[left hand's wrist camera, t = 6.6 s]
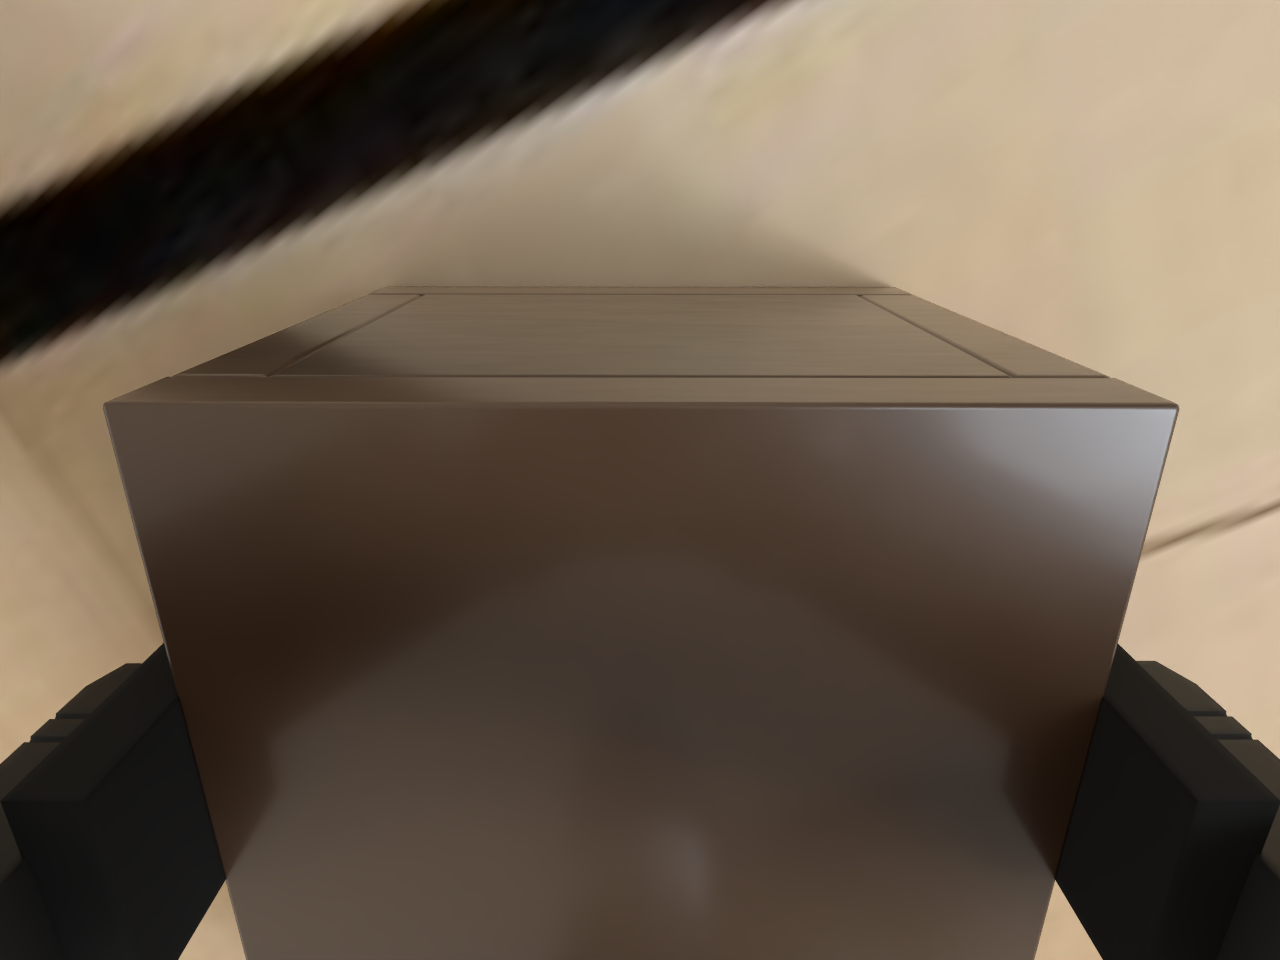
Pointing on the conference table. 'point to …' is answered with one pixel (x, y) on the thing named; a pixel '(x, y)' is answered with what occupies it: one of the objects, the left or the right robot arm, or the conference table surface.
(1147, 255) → the conference table surface
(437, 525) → the cabinet
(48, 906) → the left robot arm
